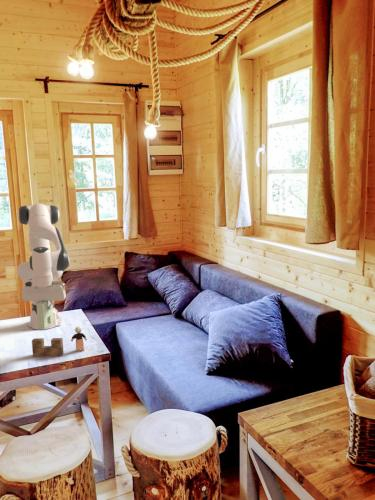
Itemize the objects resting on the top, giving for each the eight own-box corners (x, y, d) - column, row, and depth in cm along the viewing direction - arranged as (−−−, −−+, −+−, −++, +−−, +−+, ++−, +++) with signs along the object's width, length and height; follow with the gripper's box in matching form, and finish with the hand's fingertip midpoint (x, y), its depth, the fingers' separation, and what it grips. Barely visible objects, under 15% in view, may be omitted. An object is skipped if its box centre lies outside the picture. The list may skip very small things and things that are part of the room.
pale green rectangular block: (47, 320, 214) (46, 297, 212) (53, 320, 214) (52, 296, 212) (38, 329, 200) (36, 304, 198) (44, 329, 200) (42, 304, 198)
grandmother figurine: (86, 347, 218) (84, 323, 216) (88, 350, 214) (86, 326, 212) (70, 350, 214) (69, 326, 212) (72, 353, 211) (71, 328, 209)
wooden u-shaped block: (33, 356, 208) (31, 340, 207) (35, 354, 211) (33, 338, 210) (61, 355, 208) (60, 340, 207) (63, 353, 211) (62, 337, 210)
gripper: (66, 279, 207) (68, 307, 209) (24, 280, 207) (26, 308, 209) (63, 282, 201) (65, 311, 203) (19, 283, 201) (21, 311, 203)
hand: (45, 309), depth 206 cm, fingers closed on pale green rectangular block, 3 cm apart
